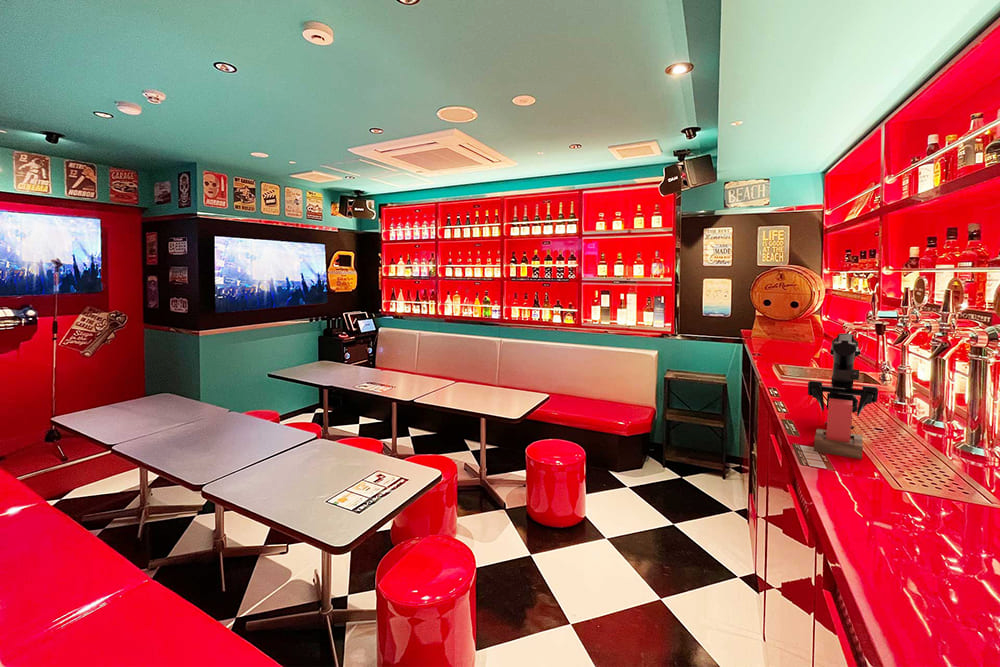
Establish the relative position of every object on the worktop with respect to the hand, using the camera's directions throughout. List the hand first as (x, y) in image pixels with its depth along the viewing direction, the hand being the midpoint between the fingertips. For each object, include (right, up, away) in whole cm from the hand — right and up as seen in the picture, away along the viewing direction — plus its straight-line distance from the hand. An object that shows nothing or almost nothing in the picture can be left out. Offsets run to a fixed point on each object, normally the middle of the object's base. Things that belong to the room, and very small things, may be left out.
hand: (840, 412), depth 152 cm
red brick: (-3, -8, -4) cm, 9 cm away
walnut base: (-3, -11, -4) cm, 12 cm away
